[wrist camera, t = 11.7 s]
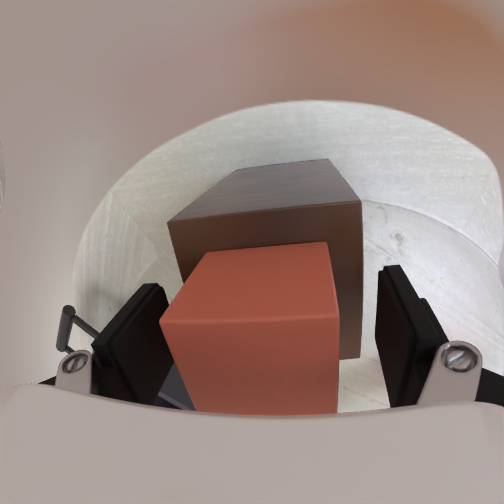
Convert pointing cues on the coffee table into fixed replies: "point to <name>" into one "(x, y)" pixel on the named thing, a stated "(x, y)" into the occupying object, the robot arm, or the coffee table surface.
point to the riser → (282, 227)
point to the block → (258, 331)
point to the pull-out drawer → (171, 390)
